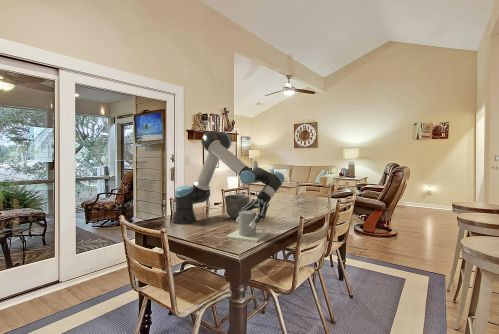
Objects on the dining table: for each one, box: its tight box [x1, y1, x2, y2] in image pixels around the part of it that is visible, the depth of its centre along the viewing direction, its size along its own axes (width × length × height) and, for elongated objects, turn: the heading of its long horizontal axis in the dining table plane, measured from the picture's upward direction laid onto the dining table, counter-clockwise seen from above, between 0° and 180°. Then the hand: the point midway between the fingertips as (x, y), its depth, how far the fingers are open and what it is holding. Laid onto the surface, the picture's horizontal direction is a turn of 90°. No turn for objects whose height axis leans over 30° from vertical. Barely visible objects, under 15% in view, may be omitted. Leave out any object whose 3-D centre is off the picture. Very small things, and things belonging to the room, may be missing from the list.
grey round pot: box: [224, 194, 250, 220], centre depth 196 cm, size 18×18×15 cm
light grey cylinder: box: [238, 209, 257, 237], centre depth 152 cm, size 10×10×12 cm
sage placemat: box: [225, 229, 269, 243], centre depth 152 cm, size 18×16×1 cm
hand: (244, 224), depth 151 cm, fingers open, 13 cm apart
